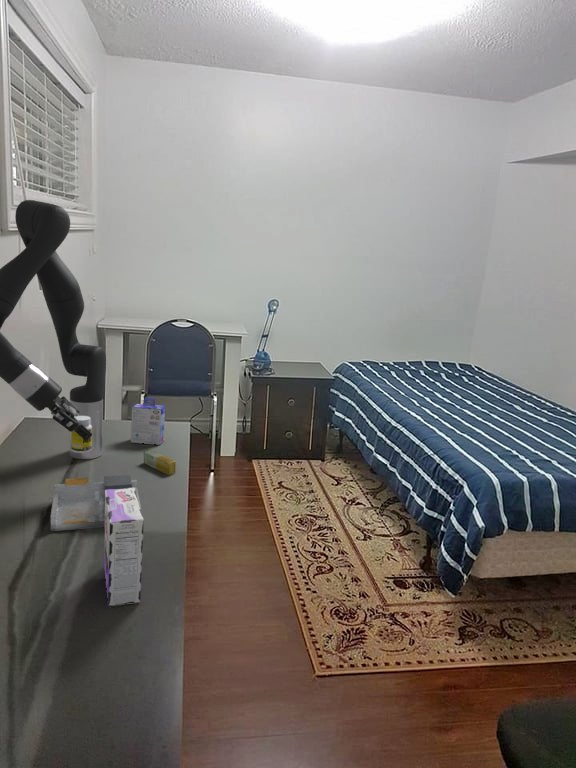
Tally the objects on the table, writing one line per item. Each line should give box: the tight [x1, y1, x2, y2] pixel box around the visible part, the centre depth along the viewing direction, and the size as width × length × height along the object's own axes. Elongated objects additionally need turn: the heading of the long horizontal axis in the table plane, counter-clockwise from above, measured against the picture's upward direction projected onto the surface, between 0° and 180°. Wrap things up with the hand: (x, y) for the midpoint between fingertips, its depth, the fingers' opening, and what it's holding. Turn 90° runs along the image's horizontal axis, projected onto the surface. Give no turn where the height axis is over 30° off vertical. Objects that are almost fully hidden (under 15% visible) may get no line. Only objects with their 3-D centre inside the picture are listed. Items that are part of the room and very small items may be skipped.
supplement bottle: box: [71, 416, 92, 453], centre depth 135 cm, size 5×5×8 cm
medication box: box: [143, 449, 177, 476], centre depth 158 cm, size 12×3×4 cm, turn 50°
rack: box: [50, 474, 142, 532], centre depth 127 cm, size 14×19×8 cm
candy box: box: [103, 487, 145, 607], centre depth 100 cm, size 14×6×16 cm, turn 21°
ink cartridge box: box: [130, 397, 166, 446], centre depth 178 cm, size 10×6×14 cm, turn 89°
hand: (89, 433), depth 135 cm, fingers closed on supplement bottle, 4 cm apart
